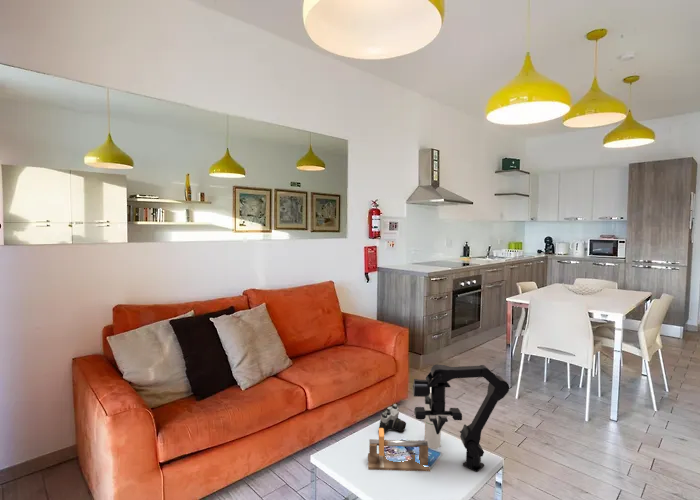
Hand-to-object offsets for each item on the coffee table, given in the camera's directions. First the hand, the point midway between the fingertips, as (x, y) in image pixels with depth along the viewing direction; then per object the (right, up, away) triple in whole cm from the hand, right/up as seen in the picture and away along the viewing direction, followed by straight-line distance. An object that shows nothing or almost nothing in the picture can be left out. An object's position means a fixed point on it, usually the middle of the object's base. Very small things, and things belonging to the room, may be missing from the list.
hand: (437, 433), depth 159 cm
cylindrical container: (+1, -13, +16) cm, 20 cm away
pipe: (-16, -6, +1) cm, 17 cm away
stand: (-16, -13, +1) cm, 21 cm away
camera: (-15, -12, +29) cm, 35 cm away
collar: (-23, -8, +1) cm, 25 cm away
